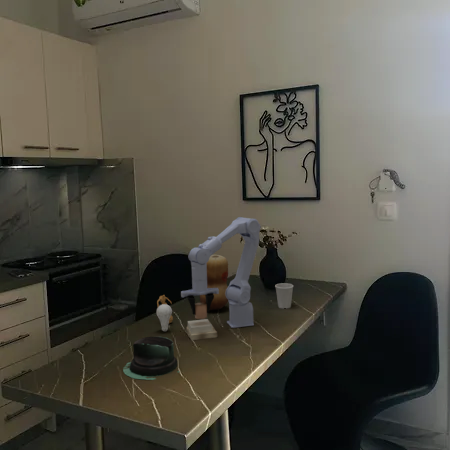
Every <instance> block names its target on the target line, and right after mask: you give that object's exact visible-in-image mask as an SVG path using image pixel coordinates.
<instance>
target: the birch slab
mask: <svg viewBox="0 0 450 450" xmlns="http://www.w3.org/2000/svg"><path fill="white" fill-rule="evenodd" d="M186 334H187V335H188V337H189V338H190V340H191V341H196V340H202V339H203V340H205V339H212V338H218V331H217V330H216V329H215V327H214V326H213V325H212V332H205V333H197V334H191V332H190V330H189V328H188V326H186Z"/></svg>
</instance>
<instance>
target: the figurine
mask: <svg viewBox="0 0 450 450" xmlns="http://www.w3.org/2000/svg"><path fill="white" fill-rule="evenodd" d="M166 300H168V302H170V304H171V305H172V301H171V300H170V299H169V297H166V296H165V294H163V295H160V296H159V298H158V299H157V301H156V304H157V308H158V307H159V306H160V304H159V302H160V303H161V305H162V304H166V305H168V304H167V302H166ZM173 320H174V317H173V315H171V317H170V319H169V324H171V323H172V322H173Z"/></svg>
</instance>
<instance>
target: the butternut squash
mask: <svg viewBox="0 0 450 450" xmlns="http://www.w3.org/2000/svg"><path fill="white" fill-rule="evenodd" d="M206 264H207V288H218V289H219V294H213V295H214V299H213V300H212V303H211V306H210V310H209V311H219V310H222V309H223V307H225V306H226V305H227V304H229V302H228V299H227V298H226V295H225V292H226V289H227V288H228V284H227V283H228V277H229V261H228V258H226V257H225V256H224V255H223V256H222V255H220V254H215V253H214V254H212V255H211V256H210V258H209V260H208V262H207V263H206ZM199 301H200V302H199V303H206V298H205V295H199Z"/></svg>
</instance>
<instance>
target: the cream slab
mask: <svg viewBox="0 0 450 450" xmlns="http://www.w3.org/2000/svg"><path fill="white" fill-rule="evenodd" d="M212 326H213V325H212V323H211V321H210V320H209V319H208V318H204V319H197V320H196V319H195V320H187V327H188V328H189V330H190V332H191V334H197V333H205V332H212Z"/></svg>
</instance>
